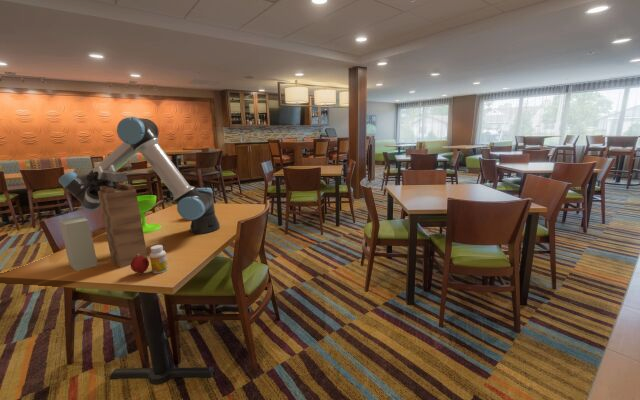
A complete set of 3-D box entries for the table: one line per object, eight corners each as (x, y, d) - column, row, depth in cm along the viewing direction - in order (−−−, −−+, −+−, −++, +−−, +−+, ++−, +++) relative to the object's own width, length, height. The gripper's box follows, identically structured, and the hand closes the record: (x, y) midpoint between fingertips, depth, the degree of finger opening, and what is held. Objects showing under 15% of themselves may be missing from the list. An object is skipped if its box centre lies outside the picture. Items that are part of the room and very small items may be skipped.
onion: (137, 270, 113) (134, 251, 111) (153, 269, 113) (149, 250, 112) (129, 277, 107) (125, 257, 106) (145, 276, 108) (142, 256, 106)
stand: (111, 261, 122) (96, 186, 115) (138, 253, 130) (125, 182, 123) (120, 267, 116) (105, 188, 109) (147, 259, 124) (135, 184, 117)
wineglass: (138, 235, 154) (132, 202, 150) (122, 231, 161) (116, 199, 157) (167, 227, 167) (162, 196, 163) (150, 223, 175) (145, 194, 171)
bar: (97, 178, 122) (96, 171, 122) (107, 177, 125) (106, 170, 125) (117, 182, 109) (115, 174, 109) (127, 180, 112) (126, 173, 111)
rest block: (69, 264, 120) (59, 220, 116) (90, 258, 126) (80, 216, 121) (76, 271, 114) (65, 224, 110) (97, 264, 119) (88, 220, 115)
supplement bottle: (149, 271, 112) (145, 247, 110) (163, 266, 116) (159, 243, 114) (157, 274, 109) (153, 250, 107) (171, 269, 113) (167, 245, 111)
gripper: (120, 196, 139) (133, 174, 124) (76, 203, 126) (85, 179, 111) (114, 182, 140) (126, 158, 125) (70, 187, 127) (78, 162, 112)
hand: (107, 168), depth 118 cm, fingers closed on bar, 3 cm apart
